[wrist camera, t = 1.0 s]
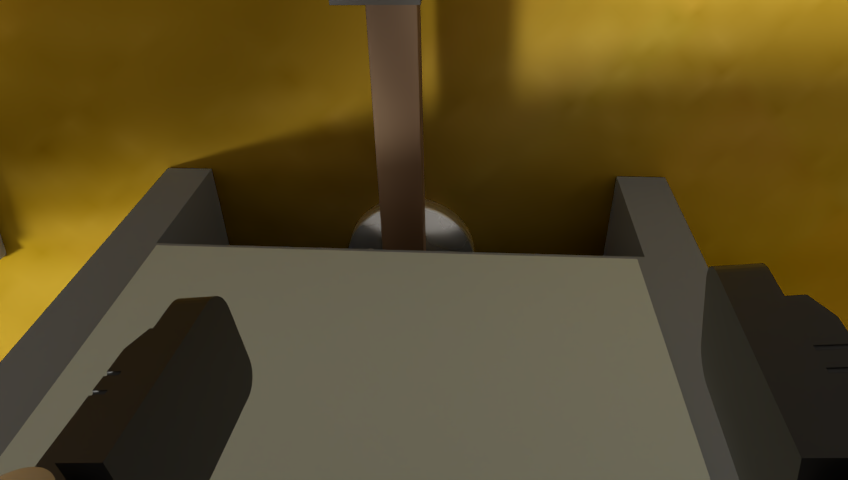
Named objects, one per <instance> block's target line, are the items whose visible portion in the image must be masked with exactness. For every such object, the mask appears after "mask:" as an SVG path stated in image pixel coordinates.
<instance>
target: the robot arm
mask: <svg viewBox="0 0 848 480" xmlns="http://www.w3.org/2000/svg"><path fill="white" fill-rule="evenodd" d="M701 358H702V367H703V373H704V377H705V381H706V385H707V388H708V391H709V393H710V396H711V399H712V402H713V405H714V408H715V411H716V414H717V417H718V420H719V422H720V425H721V428H722V431H723V434H724V437H725V440H726V443H727V446H728V449H729V451H730V454H731V457H732V460H733V463H734V466H735V469H736V472H737V475H738V478H739V480H848V331H847V330H846V328H845V327H844V325H843V324H842V322H841V321H840V319H839V318H838V317H837V316H836V315H835V314H833V313H832V312H830V311H829V310H828V309H826V308H825V307H823V306H822V305H821V304H819V303H818V302H816V301H815V300H814V299H812V298H811V297H809V296H808V295H793V296H784V294H783V293H782V291H781V289H780V287H779V286H778V284H777V282H776V281H775V279H774V277H773V275H772V274H771V272H770V270H769V269H768V267H767V266H766V265H765V264H763V263H759V264H743V265H727V266H711V267H709V269H708V271H707V276H706V286H705V299H704V311H703V324H702V337H701ZM252 377H253V375H252V366H251V362H250V359H249V356H248V354H247V351H246V349H245V346H244V344H243V341H242V339H241V336H240V334H239V331H238V329H237V326H236V324H235V321H234V319H233V316H232V314H231V311H230V309H229V307H228V304H227V303H226V301H225V300H224V299H223V298H222V297H220V296H210V297H194V298H178V299H176V300H174V301H173V302H172V303H171V304H170V306H169V307H168V308H167V310H166V311H165V312H164V314H163V315H162V317H161V318H160V319H159V321H158V322H157V323H156V325H155V326H154V327H153V328H149V329H148V330H147V331H146V332H144V333H143V334H142V335H141V336H139V337H138V338H137V339H136V340H134V341H133V342H132V343H131V344H129V345H128V346H127V347H126V348H124V349H123V351H122V352H121V353H120V355H119V356H118V357H117V359H116V360H115V361H114V363H113V364H112V365H111V367H110V368H109V369H108V371H107V376H103V377H102V378H101V380H100V381H99V382H98V384H97V385H96V386H95V388H94V389H93V390H92V391H93V394H92V395H89V396H88V397H87V398H86V400H85V401H84V402H83V404H82V405H81V406H80V407H79V409H78V410H77V411H76V413H75V414H74V415H73V417H72V418H71V419H70V421H69V422H68V423H67V425H66V426H65V427H64V429H63V430H62V431H61V433H60V434H59V435H58V437H57V438H56V439H55V440H54V442H53V443H52V444H51V446H50V447H49V448H48V450H47V451H46V452H45V454H44V455H43V456H42V458H41V459H40V460H39V462H38V463H37V464H36V466H35V467H26V468H21V469H17V470H14V471H11V472H8V473H6V474H3V475H1V476H0V480H210V478H211V476H212V474H213V472H214V470H215V467H216V465H217V463H218V461H219V459H220V457H221V455H222V453H223V450H224V448H225V446H226V444H227V442H228V440H229V438H230V436H231V434H232V431H233V429H234V427H235V425H236V423H237V421H238V419H239V417H240V414H241V412H242V410H243V408H244V406H245V404H246V402H247V400H248V397H249V395H250V392H251V387H252Z"/></svg>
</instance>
